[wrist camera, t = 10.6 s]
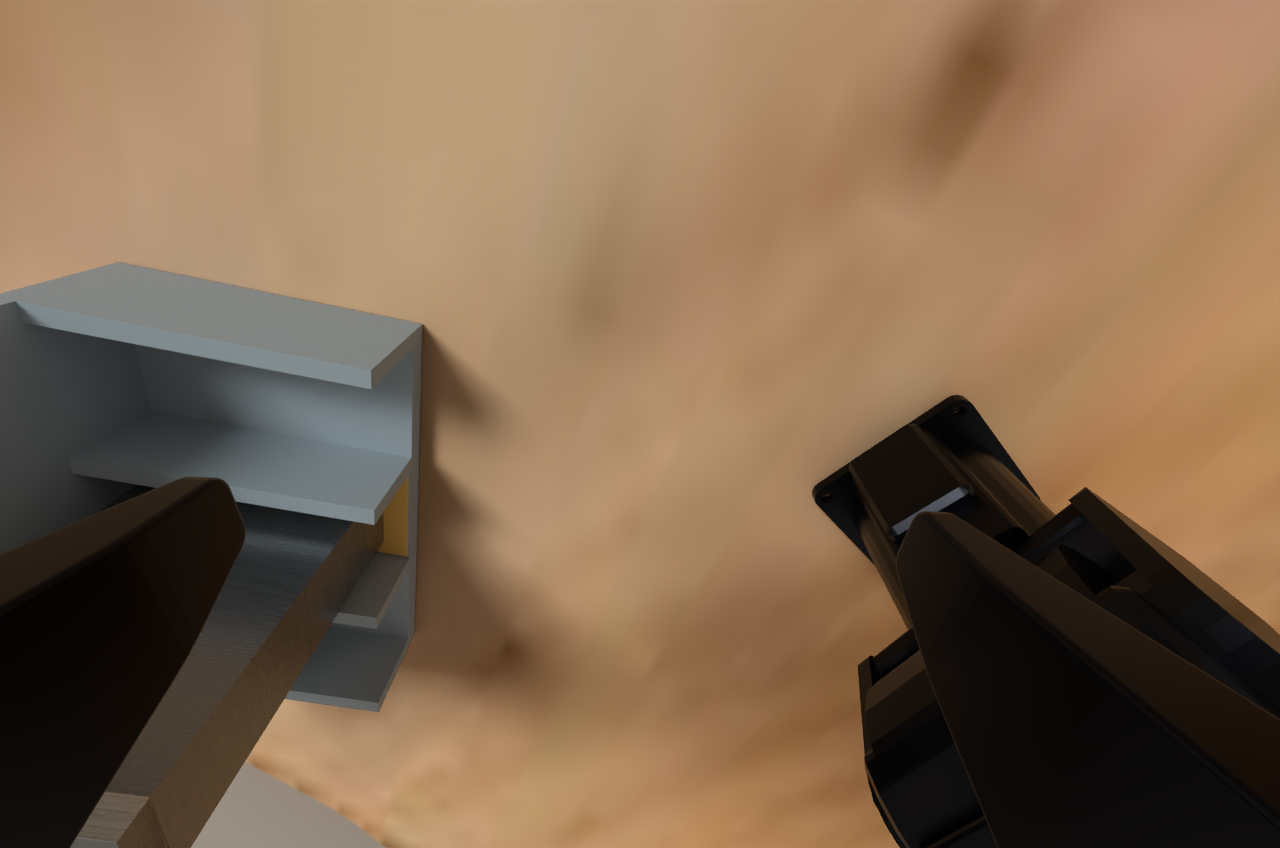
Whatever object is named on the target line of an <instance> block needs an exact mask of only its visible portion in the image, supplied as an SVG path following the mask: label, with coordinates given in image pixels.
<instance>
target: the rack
mask: <svg viewBox="0 0 1280 848" xmlns="http://www.w3.org/2000/svg"><path fill="white" fill-rule="evenodd" d="M421 359H422V324H419V323H415V322H410V321H405V320H400V319H395V318H390V317H385V316H380V315H375V314H370V313H365V312H360V311H356V310H351V309H346V308H341V307H336V306H331V305H326V304H321V303H316V302H311V301H306V300H301V299H296V298H292V297H287V296H282V295H277V294H272V293H267V292H262V291H257V290H252V289H247V288H242V287H237V286H233V285H228V284H223V283H218V282H213V281H208V280H203V279H198V278H193V277H188V276H183V275H178V274H173V273H169V272H164V271H159V270H154V269H149V268H144V267H139V266H134V265H129V264H124V263H119V262H117V263H114V264H110V265H106V266H102V267H99V268H95V269H91V270H87V271H84V272H80V273H76V274H72V275H69V276H65V277H61V278H57V279H54V280H50V281H46V282H42V283H39V284H35V285H31V286H27V287H24V288H20V289H16V290H12V291H8V292H5V293H1V294H0V554H2V553H5V552H7V551H9V550H12V549H14V548H16V547H19V546H21V545H24V544H26V543H28V542H31V541H33V540H35V539H38V538H40V537H42V536H45V535H47V534H50V533H52V532H54V531H57V530H59V529H61V528H64V527H66V526H68V525H71V524H73V523H76V522H78V521H80V520H83V519H85V518H87V517H90V516H92V515H94V514H95V513H97V512H98V511H100V510H101V509H102V508H104V507H105V506H107V505H108V504H109V503H111V502H112V501H114V500H115V499H117V498H118V497H119V496H121V495H122V494H124V493H125V492H126V491H128V490H129V489H131V488H132V487H133V486H135V485H142V486H148V487H154V488H158V487H161V486H163V485H165V484H168V483H170V482H172V481H175V480H177V479H180V478H182V477H188V476H197V477H216V478H220V479H223V480H224V481H225V482H226V483H227V484H228V485H229V487H230V489H231V491H232V494H233V496H234V499H235V501H236V502H242V503H248V504H254V505H260V506H266V507H272V508H278V509H283V510H289V511H295V512H301V513H307V514H313V515H319V516H325V517H331V518H336V519H342V520H348V521H354V522H360V523H366V524H372V525H375V523H376V522H377V520H378V519H379V518H380V516H381V515H382V513H383V512H384V541H383V543H382V545H381V546H380V548H379V549H378V551H377V553H376V554H375V556H374V557H373V559H372V560H371V562H370V564H369V565H368V567H367V568H366V570H365V572H364V573H363V575H362V576H361V578H360V580H359V581H358V583H357V584H356V586H355V587H354V589H353V591H352V592H351V594H350V595H349V597H348V599H347V600H346V602H345V603H344V605H343V607H342V608H341V610H340V611H339V613H338V614H337V616H336V618H335V619H334V621H333V622H332V624H331V626H330V627H329V629H328V630H327V632H326V633H325V635H324V637H323V638H322V640H321V641H320V643H319V645H318V646H317V648H316V649H315V651H314V653H313V654H312V656H311V657H310V659H309V660H308V662H307V664H306V665H305V667H304V668H303V670H302V672H301V673H300V675H299V676H298V678H297V680H296V681H295V683H294V684H293V686H292V687H291V689H290V691H289V692H288V694H287V695H286V697H285V699H290V700H297V701H304V702H311V703H318V704H325V705H333V706H340V707H347V708H354V709H361V710H368V711H375V712H379V710H380V708H381V706H382V704H383V701H384V699H385V697H386V695H387V693H388V690H389V688H390V686H391V684H392V682H393V679H394V677H395V675H396V673H397V671H398V668H399V666H400V664H401V662H402V660H403V658H404V655H405V653H406V651H407V649H408V647H409V644H410V642H411V640H412V638H413V636H414V633H415V598H416V559H417V519H418V479H419V439H420V399H421Z"/></svg>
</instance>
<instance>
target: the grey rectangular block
mask: <svg viewBox="0 0 1280 848" xmlns="http://www.w3.org/2000/svg"><path fill="white" fill-rule="evenodd" d="M153 489H156V488H154V487H148V486H142V485H135V486H133V487H132V488H131V489H129V490H128V491H126V492H125V493H124V494H122V495H121V496H119V497H118V498H117V499H115V500H114V501H112V502H111V503H109V504H108V505H107V506H105V507H104V508H102V509H101V510H100V511H98V512H97V513H99V512H102V511H104V510H106V509H109V508H111V507H113V506H116V505H118V504H120V503H123V502H125V501H127V500H130V499H132V498H135V497H137V496H139V495H142V494H144V493H146V492H149V491H151V490H153ZM236 504H237V506H238V509H239V512H240V514H241V517H242V519H243V522H244V524H245V530H246V536H245V541H244V544H243V547H242V549H241V551H240V553H239V555H238V557H237V559H236V561H235V564H234V566H233V568H232V570H231V572H230V574H229V576H228V578H227V580H226V582H225V584H224V586H223V588H222V590H221V592H220V594H219V596H218V598H217V600H216V602H215V604H214V606H213V608H212V611H211V613H210V615H209V617H208V619H207V621H206V623H205V625H204V627H203V629H202V631H201V633H200V635H199V637H198V639H197V641H196V643H195V645H194V646H193V648H192V650H191V652H190V654H189V656H188V658H187V659H186V661H185V663H184V665H183V666H182V668H181V670H180V671H179V673H178V675H177V676H176V678H175V680H174V681H173V683H172V684H171V686H170V688H169V689H168V691H167V693H166V694H165V696H164V697H163V699H162V701H161V702H160V704H159V705H158V707H157V709H156V710H155V712H154V714H153V715H152V717H151V718H150V720H149V722H148V723H147V725H146V726H145V728H144V730H143V731H142V733H141V734H140V736H139V738H138V739H137V741H136V743H135V744H134V746H133V747H132V749H131V751H130V752H129V754H128V755H127V757H126V759H125V760H124V762H123V764H122V765H121V767H120V768H119V770H118V772H117V773H116V775H115V776H114V778H113V780H112V781H111V783H110V784H109V786H108V788H107V789H106V791H105V793H104V794H103V796H102V797H101V799H100V801H99V802H98V804H97V805H96V807H95V809H94V810H93V812H92V814H91V815H90V817H89V818H88V820H87V822H86V823H85V825H84V826H83V828H82V830H81V831H80V833H79V834H78V836H77V838H76V839H75V841H74V843H73V844H72V846H71V847H70V848H191V846H192V845H193V843H194V841H195V840H196V838H197V837H198V835H199V833H200V832H201V830H202V829H203V827H204V826H205V823H206V822H207V820H208V819H209V818H210V816H211V814H212V813H213V811H214V810H215V808H216V806H217V805H218V803H219V802H220V800H221V798H222V797H223V795H224V794H225V792H226V791H227V789H228V787H229V786H230V784H231V783H232V781H233V779H234V778H235V776H236V775H237V773H238V772H239V770H240V768H241V767H242V765H243V763H244V762H245V760H246V759H247V757H248V756H249V754H250V753H251V751H252V749H253V748H254V746H255V745H256V743H257V741H258V740H259V738H260V737H261V735H262V733H263V732H264V730H265V729H266V727H267V726H268V724H269V722H270V721H271V719H272V718H273V716H274V714H275V713H276V711H277V710H278V708H279V706H280V705H281V703H282V702H283V700H284V699H285V697H286V695H287V694H288V692H289V691H290V689H291V687H292V686H293V684H294V683H295V681H296V680H297V678H298V676H299V675H300V673H301V672H302V670H303V668H304V667H305V665H306V664H307V662H308V660H309V659H310V657H311V656H312V654H313V653H314V651H315V649H316V648H317V646H318V645H319V643H320V641H321V640H322V638H323V637H324V635H325V633H326V632H327V630H328V629H329V627H330V626H331V624H332V622H333V621H334V619H335V618H336V616H337V614H338V613H339V611H340V610H341V608H342V607H343V605H344V603H345V602H346V600H347V599H348V597H349V595H350V594H351V592H352V591H353V589H354V587H355V586H356V584H357V583H358V581H359V580H360V578H361V576H362V575H363V573H364V572H365V570H366V568H367V567H368V565H369V564H370V562H371V560H372V559H373V557H374V556H375V554H376V553H377V551H378V549H379V548H380V546H381V545H382V543H383V541H384V512H383V513H382V515H381V516H380V518H379V519H378V520H377V522H376V523H375V525H372V524H366V523H360V522H354V521H348V520H342V519H336V518H331V517H325V516H319V515H313V514H307V513H301V512H295V511H289V510H283V509H278V508H272V507H266V506H260V505H254V504H248V503H242V502H236ZM97 513H95V514H97Z"/></svg>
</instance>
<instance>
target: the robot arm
mask: <svg viewBox="0 0 1280 848" xmlns="http://www.w3.org/2000/svg"><path fill="white" fill-rule="evenodd" d="M958 406H961V408H960V410H959V411H958V412H956V413H954V414H952V411H953V410H954V409H955V408H956V407H958ZM826 492H831V493H830V495H828V496H826V497H822V495H823V494H824V493H826ZM812 495H813V498H814V500H815V502H816V504H817V505H818V506H819V507H820V508H821V509H822V510H823V511H824V512H825V513H826V515H827V516H828V517H829V518H830V519H831V520H832V521H833V522H834V523H835V524H836V525H837V526H838V527H839V528H840V529H841V530H842V531H843V532H844V533H845V534H846V535H847V536H848V538H849V539H850V540H851V541H852V542H853V543H854V544H855V545H856V546H857V547H858V548H859V549H860V550H861V551H862V552H863V553H864V554H865V555H866V556H867V557H868V558H869V559H870V561H871V562H872V563H873V564H874V565H875V566H876V568H877V570H878V572H879V574H880V576H881V578H882V580H883V582H884V583H885V585H886V587H887V589H888V591H889V593H890V595H891V597H892V599H893V601H894V603H895V605H896V607H897V609H898V611H899V613H900V615H901V617H902V619H903V621H904V623H905V625H906V627H907V628H908V631H907V632H905V633H904V634H903V635H902V636H900V637H899V638H898V639H896V640H895V641H894V642H893V643H891V644H890V645H889V646H887V647H886V648H885V649H884V650H882V651H881V652H880V653H878V654H877V655H876V656H875V657H873V656H869V657H868V658H867V659H865V660H864V661H863V662H861V663H860V664H859V665H858V676H859V689H860V701H861V713H862V726H863V738H864V750H865V757H864V759H865V769H866V772H867V777H868V782H869V786H870V789H871V792H872V797H873V801H874V803H875V805H876V807H877V808H878V810H879V812H880V814H881V816H882V818H883V821H884V823H885V824H886V826H887V828H888V829H889V831H890V833H891V834H892V836H893V838H894V839H895V841H896V843H897V844H898V845H899V847H900V848H1280V635H1279V634H1278V633H1277V632H1276V631H1275V630H1274V629H1273V628H1272V627H1271V626H1270V625H1268V624H1267V623H1266V622H1265V621H1264V620H1262V619H1261V618H1260V617H1259V616H1257V615H1256V614H1255V613H1254V612H1252V611H1251V610H1250V609H1249V608H1247V607H1246V606H1245V605H1244V604H1242V603H1241V602H1240V601H1239V600H1237V599H1236V598H1235V597H1234V596H1232V595H1231V594H1230V593H1228V592H1227V591H1226V590H1225V589H1223V588H1222V587H1221V586H1220V585H1218V584H1217V583H1216V582H1215V581H1213V580H1212V579H1211V578H1210V577H1208V576H1207V575H1206V574H1205V573H1203V572H1202V571H1201V570H1200V569H1198V568H1197V567H1196V566H1194V565H1193V564H1192V563H1191V562H1189V561H1188V560H1187V559H1185V558H1184V557H1183V556H1181V555H1180V554H1179V553H1177V552H1176V551H1174V550H1173V549H1172V548H1170V547H1169V546H1167V545H1166V544H1165V543H1163V542H1162V541H1160V540H1159V539H1158V538H1156V537H1155V536H1153V535H1152V534H1151V533H1149V532H1148V531H1146V530H1145V529H1144V528H1142V527H1141V526H1140V525H1138V524H1137V523H1135V522H1134V521H1133V520H1131V519H1130V518H1128V517H1127V516H1126V515H1124V514H1123V513H1121V512H1120V511H1119V510H1117V509H1116V508H1114V507H1113V506H1112V505H1110V504H1109V503H1107V502H1106V501H1105V500H1103V499H1102V498H1100V497H1099V496H1098V495H1096V494H1095V493H1093V492H1092V491H1091V490H1089V489H1088V488H1086V487H1085V488H1084V489H1082V490H1081V491H1080V492H1078V493H1077V494H1076V495H1075V496H1073V497H1072V498H1071V499H1069V501H1070V502H1071V504H1070V505H1068V506H1067V507H1066V508H1065V509H1063V510H1062V511H1061V512H1059V513H1058V514H1057V515H1055V514H1054V513H1053V512H1052V511H1051V510H1050V509H1049V508H1048V507H1047V506H1046V505H1045V504H1044V503H1043V502H1042V501H1041V500H1040V498H1039V496H1038V495H1037V493H1036V492H1035V491H1034V489H1033V488H1032V486H1031V485H1030V484H1029V482H1028V481H1027V479H1026V478H1025V477H1024V475H1023V474H1022V473H1021V471H1020V470H1019V468H1018V467H1017V466H1016V464H1015V463H1014V461H1013V460H1012V459H1011V457H1010V456H1009V454H1008V453H1007V452H1006V450H1005V449H1004V448H1003V446H1002V445H1001V443H1000V442H999V441H998V439H997V438H996V436H995V435H994V434H993V432H992V431H991V429H990V428H989V427H988V425H987V424H986V423H985V421H984V420H983V418H982V417H981V416H980V414H979V413H978V411H977V410H976V409H975V407H974V406H973V404H972V403H970V402H969V401H968V400H967V399H966V398H965V397H963V396H960V395H953V396H950V397H948V398H946V399H945V400H943V401H942V402H940V403H939V404H937V405H936V406H934V407H933V408H931V409H930V410H928V411H927V412H925V413H924V414H922V415H921V416H919V417H918V418H916V419H915V420H913V421H912V422H910V423H909V424H907V425H905V426H903V427H902V428H900V429H899V430H897V431H896V432H894V433H893V434H891V435H890V436H888V437H887V438H885V439H884V440H882V441H881V442H879V443H878V444H876V445H875V446H873V447H872V448H870V449H869V450H867V451H866V452H864V453H863V454H861V455H860V456H858V457H857V458H855V459H854V460H852V461H851V462H850V463H848V464H847V465H845V466H844V467H842V468H841V469H839V470H838V471H836V472H835V473H833V474H832V475H830V476H829V477H827V478H826V479H824V480H823V481H821V482H820V483H818V484H817V485H816V486H815V487H814V488H813V490H812ZM245 536H246V530H245V524H244V522H243V519H242V517H241V514H240V512H239V509H238V506H237V504H236V501H235V499H234V496H233V494H232V491H231V489H230V487H229V485H228V484H227V483H226V482H225V481H224V480H223V479H220V478H216V477H197V476H188V477H182V478H180V479H177V480H175V481H172V482H170V483H168V484H165V485H163V486H161V487H158V488H156V489H153V490H151V491H149V492H146V493H144V494H142V495H139V496H137V497H135V498H132V499H130V500H127V501H125V502H123V503H120V504H118V505H116V506H113V507H111V508H109V509H106V510H104V511H102V512H99V513H97V514H94V515H92V516H90V517H87V518H85V519H83V520H80V521H78V522H76V523H73V524H71V525H68V526H66V527H64V528H61V529H59V530H57V531H54V532H52V533H50V534H47V535H45V536H42V537H40V538H38V539H35V540H33V541H31V542H28V543H26V544H24V545H21V546H19V547H16V548H14V549H12V550H9V551H7V552H5V553H2V554H0V848H70V847H71V846H72V844H73V843H74V841H75V839H76V838H77V836H78V834H79V833H80V831H81V830H82V828H83V826H84V825H85V823H86V822H87V820H88V818H89V817H90V815H91V814H92V812H93V810H94V809H95V807H96V805H97V804H98V802H99V801H100V799H101V797H102V796H103V794H104V793H105V791H106V789H107V788H108V786H109V784H110V783H111V781H112V780H113V778H114V776H115V775H116V773H117V772H118V770H119V768H120V767H121V765H122V764H123V762H124V760H125V759H126V757H127V755H128V754H129V752H130V751H131V749H132V747H133V746H134V744H135V743H136V741H137V739H138V738H139V736H140V734H141V733H142V731H143V730H144V728H145V726H146V725H147V723H148V722H149V720H150V718H151V717H152V715H153V714H154V712H155V710H156V709H157V707H158V705H159V704H160V702H161V701H162V699H163V697H164V696H165V694H166V693H167V691H168V689H169V688H170V686H171V684H172V683H173V681H174V680H175V678H176V676H177V675H178V673H179V671H180V670H181V668H182V666H183V665H184V663H185V661H186V659H187V658H188V656H189V654H190V652H191V650H192V648H193V646H194V645H195V643H196V641H197V639H198V637H199V635H200V633H201V631H202V629H203V627H204V625H205V623H206V621H207V619H208V617H209V615H210V613H211V611H212V608H213V606H214V604H215V602H216V600H217V598H218V596H219V594H220V592H221V590H222V588H223V586H224V584H225V582H226V580H227V578H228V576H229V574H230V572H231V570H232V568H233V566H234V564H235V561H236V559H237V557H238V555H239V553H240V551H241V549H242V547H243V544H244V541H245Z"/></svg>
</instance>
